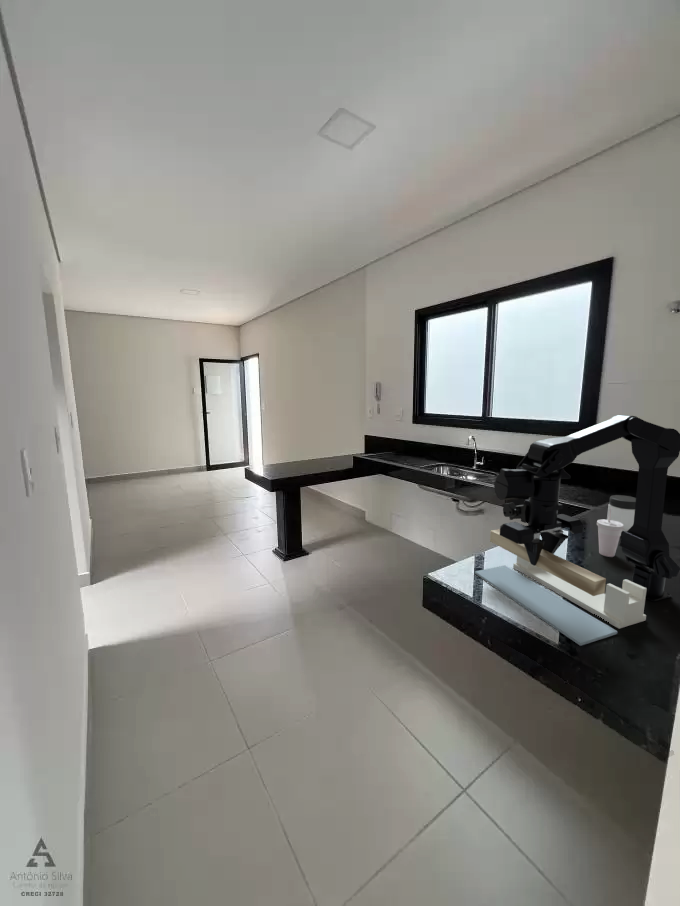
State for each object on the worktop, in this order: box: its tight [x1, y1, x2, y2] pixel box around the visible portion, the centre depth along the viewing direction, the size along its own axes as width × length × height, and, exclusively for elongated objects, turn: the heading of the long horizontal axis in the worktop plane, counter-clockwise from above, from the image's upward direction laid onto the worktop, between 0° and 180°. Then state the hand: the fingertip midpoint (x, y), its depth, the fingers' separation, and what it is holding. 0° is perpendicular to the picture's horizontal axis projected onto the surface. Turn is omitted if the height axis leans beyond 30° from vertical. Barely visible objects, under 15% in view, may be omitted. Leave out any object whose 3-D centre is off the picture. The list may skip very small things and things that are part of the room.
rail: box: [489, 528, 607, 596], centre depth 83 cm, size 3×28×3 cm, turn 19°
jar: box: [606, 494, 636, 537], centre depth 123 cm, size 9×8×12 cm
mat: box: [474, 565, 618, 647], centre depth 85 cm, size 10×30×1 cm, turn 19°
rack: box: [512, 555, 647, 629], centre depth 88 cm, size 8×28×8 cm, turn 19°
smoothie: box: [596, 508, 624, 558], centre depth 107 cm, size 6×6×14 cm
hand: (538, 563), depth 84 cm, fingers closed on rail, 3 cm apart
